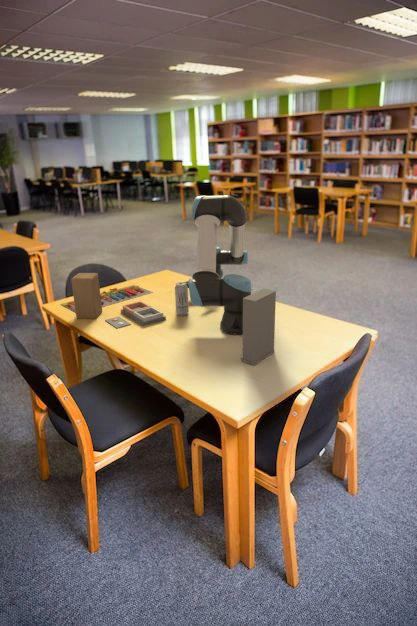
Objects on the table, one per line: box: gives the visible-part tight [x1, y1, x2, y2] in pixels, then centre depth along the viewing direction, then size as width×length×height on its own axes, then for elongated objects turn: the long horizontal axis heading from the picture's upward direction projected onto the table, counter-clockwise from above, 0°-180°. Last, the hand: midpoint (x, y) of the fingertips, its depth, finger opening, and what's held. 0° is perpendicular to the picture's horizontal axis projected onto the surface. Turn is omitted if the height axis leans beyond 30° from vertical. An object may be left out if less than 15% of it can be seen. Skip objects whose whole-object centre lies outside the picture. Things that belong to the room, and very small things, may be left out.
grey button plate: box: [105, 316, 132, 329], centre depth 202 cm, size 12×7×1 cm, turn 37°
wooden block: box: [70, 272, 103, 320], centre depth 208 cm, size 10×10×20 cm
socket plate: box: [120, 300, 167, 327], centre depth 208 cm, size 22×12×4 cm, turn 37°
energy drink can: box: [174, 281, 190, 317], centre depth 208 cm, size 6×6×15 cm
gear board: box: [60, 284, 154, 314], centre depth 234 cm, size 45×2×19 cm
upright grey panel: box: [240, 288, 277, 366], centre depth 162 cm, size 14×6×25 cm, turn 140°
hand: (189, 292), depth 215 cm, fingers open, 13 cm apart
